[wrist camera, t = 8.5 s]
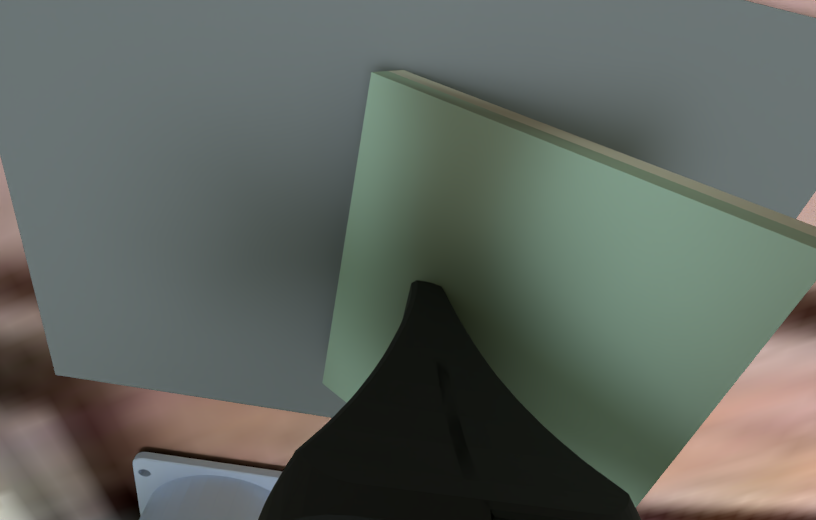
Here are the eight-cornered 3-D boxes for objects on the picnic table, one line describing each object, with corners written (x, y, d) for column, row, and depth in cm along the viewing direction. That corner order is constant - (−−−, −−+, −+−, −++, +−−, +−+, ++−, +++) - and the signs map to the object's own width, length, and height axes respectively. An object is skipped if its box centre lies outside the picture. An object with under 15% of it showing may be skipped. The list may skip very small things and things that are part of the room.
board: (614, 441, 21) (622, 462, 20) (72, 355, 19) (55, 374, 18) (885, 37, 12) (919, 44, 11) (-49, -195, 10) (-92, -208, 9)
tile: (371, 72, 11) (403, 69, 12) (322, 383, 16) (347, 365, 17) (834, 256, 7) (831, 233, 8) (573, 585, 12) (589, 548, 13)
